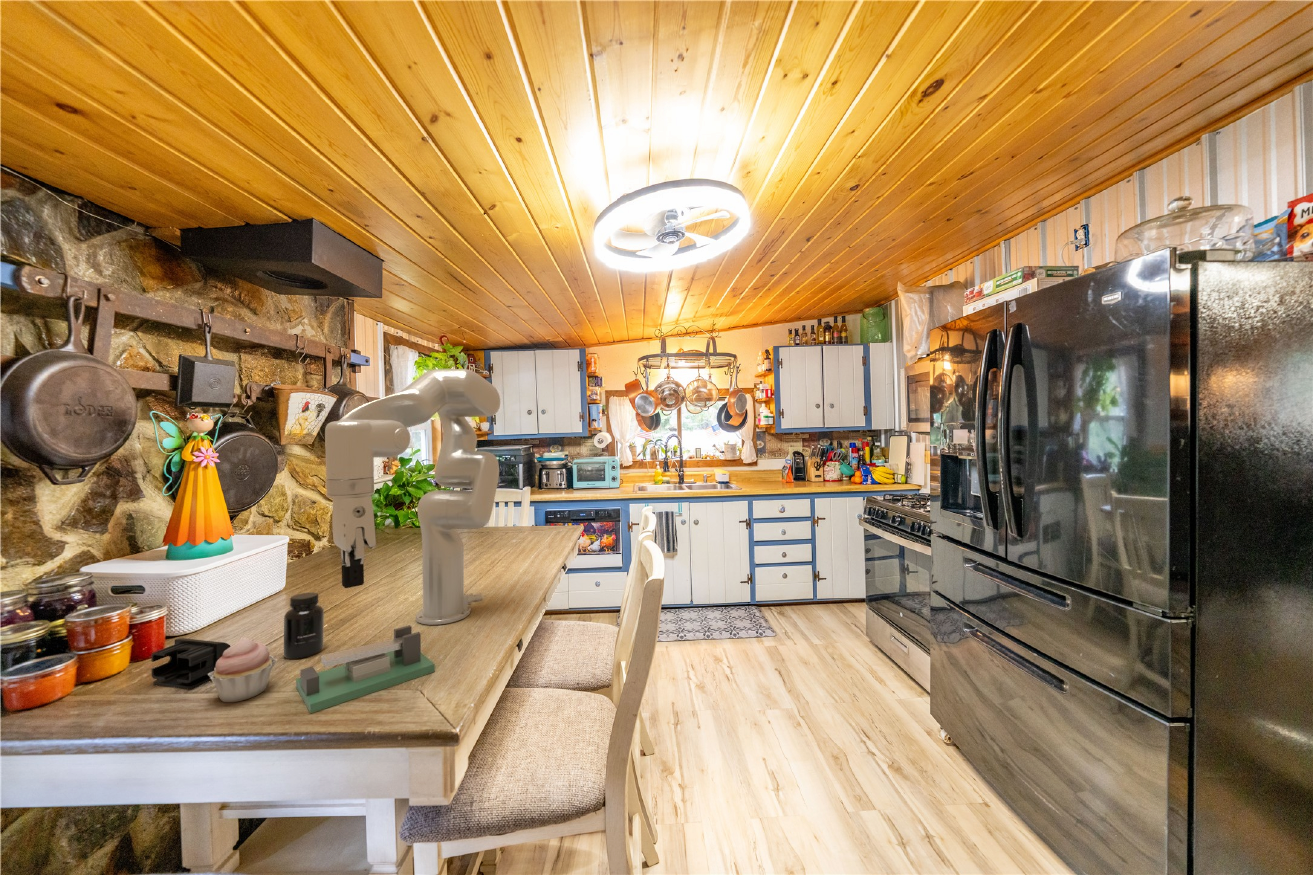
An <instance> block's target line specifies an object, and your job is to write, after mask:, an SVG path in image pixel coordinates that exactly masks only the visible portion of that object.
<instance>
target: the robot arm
mask: <svg viewBox="0 0 1313 875" xmlns="http://www.w3.org/2000/svg"><path fill="white" fill-rule="evenodd" d="M500 407H501V397H500V393H499V392H498V389H497V388H496V387H495V385H493V384H492V383H490V382H489V381H488V380H487V379H485V378H484V377H483V376H481V375H480V374H479V373H477V372H475V371H473V370H470V369H467V368H438V369H432V370H431V369H430V370H428V371H426V372H424V373H423V374H421V375H420V376H419V377H417V378H416V379H415V380H414V381H413V382H411V383H410V384H408V385H407V386H406V387H405V388H404V389H402V390H401V391H399V392H396V393H392V394H390V395H386V396H384V397H382V398H378V399H375V400H373V401H370V402H366V403H364V404H363V405H360V406H357V407H356V408H354V409H352V410H351V411H349V412H348V413H347V414H345V415H344V416H343V417H341V418H340V419H339V420H335V421H331V422H329V423H327V424H326V425H325V429H324V430H325V431H324V438H325V439H324V441H325V444H324V445H325V449H324V450H325V475H326V476H325V478H326V482H325V483H326V498H328V499H332V505H331V506H332V510H331V511H332V512H331V513H332V518H331V519H332V521H331V522H332V523H331V524H332V525H331V526H332V538H333V539H332V540H333V541H332V542H333V544H334V545H335V546H336V547H337V548H339V549H340V557H341V564H342V565H341V586H342V587H344V589H349V588H355V587H359V586H363V585H364V583H365V575H364V574H365V572H364V569H365V568H364V566H365V564H364V560H365V558H366V557H365V547H366V548H369V549H372V550H373V549H374V548H375V547H376V545H377V541H376V526H375V514H374V507H373V506H374V505H373V500H372V496H374V494H375V474H374V472H375V468H374V467H375V466H374V465H375V463H374V458H394V457H398V456H400V455H402V454H403V453H405V451H407V449H408V448H409V445H410V443H411V435H410V434H411V433H410V431H409V429H408V428H412V427H416V426H418V425H423V424H424V423H427V422H428V421H429V420H430V419H431V418H432V417H433V416H435V414H436V413H437V415H438V417H439V420H440V422H441V423H440V424H441V426H442V430H443V437H442V442H441V445H440V449H439V454H438V456H437V461H436V464H435V470H434V480H435V482H436V483H437V484H438V485H439V486H441V487H445V488H458V489H460V488H461V489H463V488H464V489H465V488H466V489H472V490H458V489H451V490H450V489H439V490H432V491H428V492H426V493H425V494H424V495H423V496H421V498H420V499H419V501H418V504H417V518H418V521H419V526H420V532H421V540H422V541H421V542H422V543H421V546H422V547H421V548H422V609H421V610H419V611H418V612H417V613H416V614H415V621H416V622H417V623H419V624H422V625H427V626H436V625H447V624H451V623H455V622H458V621H460V620H463V619H465V618H467V617H468V616H469V615H470V614H471V607H470V605H472V603H478V602H482V601H483V599H484V598H483V594H482V593H477V594H474V593H467V594H466V593H465V591H464V590H465V587H464V586H465V584H464V582H465V581H464V580H465V579H464V578H465V577H464V576H465V574H464V573H465V572H464V568H465V567H464V565H465V564H464V563H465V562H464V558H465V557H464V556H465V554H464V553H465V552H464V550H465V549H464V542H463V539H462V537H461V535H460V533H459V532H458V531H457V530H478V529H479V530H480V529H482V528H484V527H485V526H487V525H488V523H489V521H490V520H491V517H492V512H493V508H494V504H495V503H494V502H495V500H496V499H495V498H496V492H497V489H498V488H497V487H498V483H499V477H500V465H499V460H498V458H497V457H496V455H495V454H493V453H492V452H489V451H482V450H481V451H480V450H478V451H476V448H477V443H478V442H477V441H478V435H477V433H476V430H475V429H474V428H473V427H472V425H471V424H470V423H469V422H468V420H467V419H466V418H484V417H487V418H488V417H493V416H495V415H496V414H497V412H499V410H500Z"/></svg>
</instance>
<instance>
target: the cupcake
mask: <svg viewBox="0 0 1313 875" xmlns="http://www.w3.org/2000/svg"><path fill="white" fill-rule="evenodd" d="M230 646H231V647H230V648H228V649H227V650H225V651H224V652H223V655H222V657H221V658H220V659H218V661H217V662H216V668H214V670H215V671H213V672H211V673H209V674H208V675H209V677H210V678H211V680H212V682H213V684H214V685H215V690H216V692H217V696H218V697H219V700H220V701H222V702H224V703H236V702H241V701H244V700H248V699H252V698H253V697H256V696H258V695H260V694H261V693H263V692H264V691H265V690H266V689H267V686H268V682H269V680H270V677H271V676H270V675H271V672H272V670H273V668H274V667H275V665H276V663H277V662H278V659H277V658H274V655H270V654H269V650H268V647H267V645H266V644H264V643H262V642H259V641H254V640H252V639H249V638H247V637H244V636H241V637H240V638H239V640H238V641H237V642H236V643H234V644H233V645H230Z"/></svg>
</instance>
